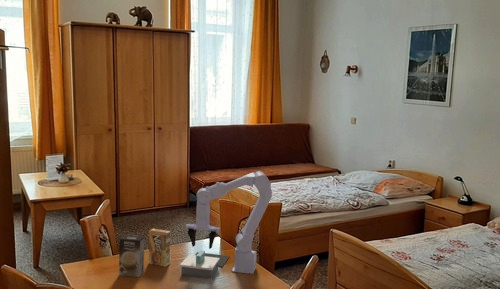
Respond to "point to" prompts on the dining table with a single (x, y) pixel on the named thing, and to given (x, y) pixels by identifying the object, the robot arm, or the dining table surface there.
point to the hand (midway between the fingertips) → (202, 246)
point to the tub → (198, 272)
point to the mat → (222, 257)
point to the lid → (200, 261)
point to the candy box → (159, 247)
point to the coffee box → (131, 255)
